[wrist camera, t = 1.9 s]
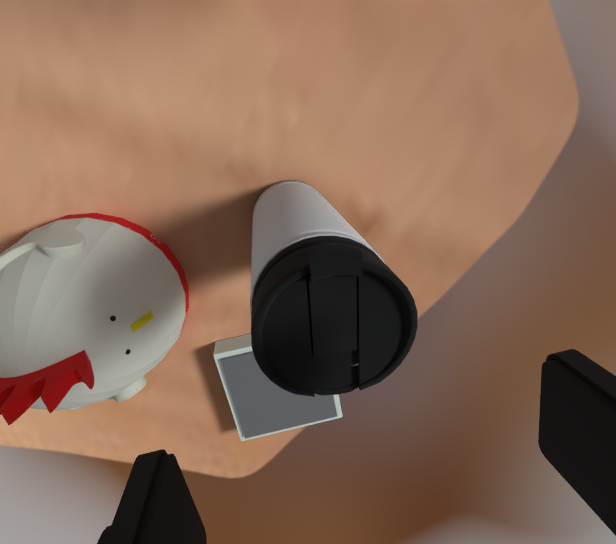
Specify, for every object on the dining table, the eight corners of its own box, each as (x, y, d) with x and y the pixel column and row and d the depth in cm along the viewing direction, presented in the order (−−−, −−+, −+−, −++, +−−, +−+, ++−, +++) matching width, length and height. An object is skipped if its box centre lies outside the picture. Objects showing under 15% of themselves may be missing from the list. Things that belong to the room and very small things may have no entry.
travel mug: (325, 172, 31) (431, 241, 12) (329, 249, 33) (422, 405, 15) (247, 178, 30) (235, 261, 12) (257, 257, 33) (260, 429, 14)
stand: (215, 341, 35) (212, 356, 33) (321, 317, 36) (326, 330, 33) (242, 424, 39) (241, 443, 36) (338, 401, 39) (343, 419, 37)
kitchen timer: (208, 344, 35) (178, 486, 21) (58, 380, 34) (-75, 552, 21) (156, 195, 30) (71, 255, 16) (-22, 234, 29) (-272, 332, 15)
